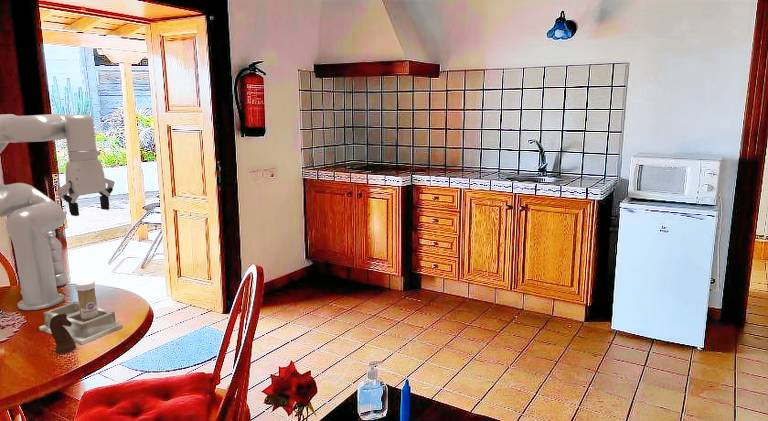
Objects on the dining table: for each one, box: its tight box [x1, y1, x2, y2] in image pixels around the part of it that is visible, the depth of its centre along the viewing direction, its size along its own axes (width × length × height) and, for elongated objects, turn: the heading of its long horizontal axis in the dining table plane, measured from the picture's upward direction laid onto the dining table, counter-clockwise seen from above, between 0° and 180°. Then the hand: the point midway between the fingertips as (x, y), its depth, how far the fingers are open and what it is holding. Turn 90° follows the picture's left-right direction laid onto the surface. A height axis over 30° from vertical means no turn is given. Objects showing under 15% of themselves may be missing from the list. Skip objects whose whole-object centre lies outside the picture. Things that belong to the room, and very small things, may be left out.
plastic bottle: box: [43, 229, 68, 287], centre depth 188 cm, size 6×7×20 cm
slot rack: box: [38, 301, 123, 345], centre depth 154 cm, size 20×12×5 cm, turn 61°
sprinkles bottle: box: [75, 279, 99, 322], centre depth 151 cm, size 5×5×13 cm
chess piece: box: [50, 313, 77, 355], centre depth 140 cm, size 5×5×10 cm
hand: (90, 212), depth 165 cm, fingers open, 9 cm apart
